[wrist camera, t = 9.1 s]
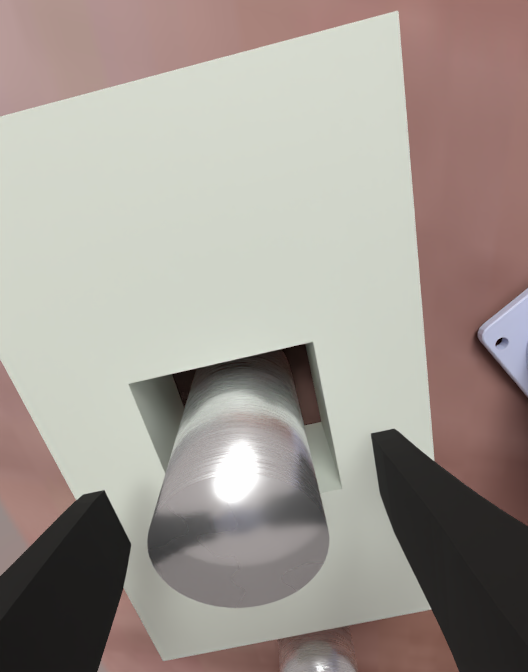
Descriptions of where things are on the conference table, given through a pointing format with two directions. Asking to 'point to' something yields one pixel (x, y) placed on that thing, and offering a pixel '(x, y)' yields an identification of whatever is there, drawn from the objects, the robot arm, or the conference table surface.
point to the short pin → (318, 652)
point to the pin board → (224, 295)
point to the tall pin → (240, 490)
